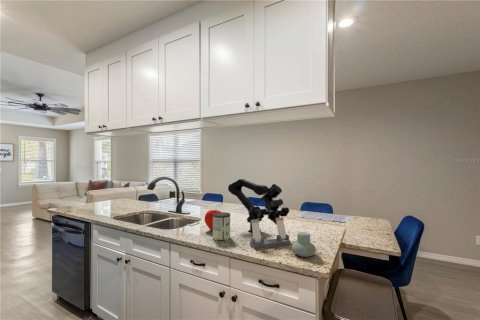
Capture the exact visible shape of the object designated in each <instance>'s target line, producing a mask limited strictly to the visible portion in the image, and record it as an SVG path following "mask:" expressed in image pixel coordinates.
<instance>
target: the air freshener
mask: <svg viewBox="0 0 480 320" xmlns="http://www.w3.org/2000/svg"><path fill="white" fill-rule="evenodd" d="M296 236H297V237H296V238H297V241H295V242H294V243H293V244H292V245H291V250H292V252H293V253H294V254H295V255H297V256H299V257H302V258H310V257H311V256H312V257H313V256H314V255H315V253H316V252H317V248H316V246H315V244H314V243H312V242H311V234H310V233H309V232H305V231H300V232H297V234H296Z"/></svg>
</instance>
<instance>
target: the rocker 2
mask: <svg viewBox="0 0 480 320" xmlns="http://www.w3.org/2000/svg"><path fill="white" fill-rule="evenodd" d="M275 219H276V222H277V225H276V227H277V232H278V234H277V235H279V236H281V239H286V234H287V232H286V228H285V223H284V221H285V218H284V216H283V217H282V216H280V217H279V218H275Z"/></svg>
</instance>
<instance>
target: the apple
mask: <svg viewBox="0 0 480 320" xmlns="http://www.w3.org/2000/svg"><path fill="white" fill-rule="evenodd" d="M218 212H222V211H220V210H217V209H210V210H207V212H206V213H205V215H204V223H205V225H206V226H207V227H208V229H209V230H211V231H213V213H218Z"/></svg>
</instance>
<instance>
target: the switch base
mask: <svg viewBox="0 0 480 320" xmlns="http://www.w3.org/2000/svg"><path fill="white" fill-rule="evenodd" d="M291 243H292V242H291V240H290V235H289V234H288V233H286V239H281V236H279V234H276V238H271V239H265V238H264V237H263V236H261V242H255V239H254V238H253V237H251V238H250V241H249V246H250V247H251V249H253V248H254V249H253V250H259V249H268V248H276V247H284V246H290V245H291ZM291 246H292V245H291Z"/></svg>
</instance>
